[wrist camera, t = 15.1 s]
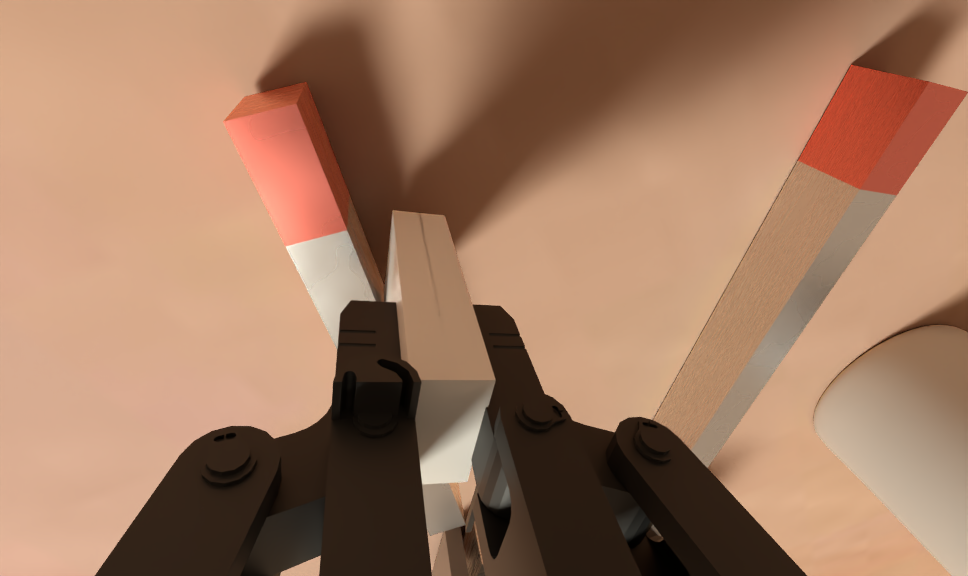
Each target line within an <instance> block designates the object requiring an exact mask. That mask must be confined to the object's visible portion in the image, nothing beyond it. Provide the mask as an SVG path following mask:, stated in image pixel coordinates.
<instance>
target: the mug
mask: <svg viewBox="0 0 968 576" xmlns="http://www.w3.org/2000/svg"><path fill="white" fill-rule="evenodd" d="M813 424H814V429H815V431H816V433H817V435H818V436H819V438H820V439H821V440H822V442H823V443H824V444H825V445H826V446H827V447H828V448H829V449H830V450H831V451H832V452H833V453H834V454H835V455H836V456H837V457H838V458H839V459H840V460H841V461H842V462H843V463H844V464H845V465H846V466H847V467H848V468H849V469H850V470H851V471H852V472H853V473H854V474H855V475H856V476H857V477H858V478H859V479H860V480H861V481H862V482H863V484H864V485H865V486H866V487H867V488H868V489H869V490H870V491H871V492H872V493H873V494H874V495H875V496H876V497H877V498H878V499H879V500H880V501H881V502H882V503H883V504H884V505H885V506H886V507H887V508H888V510H889V511H890V512H891V513H892V514H893V515H894V516H895V517H896V518H897V519H898V520H899V521H900V522H901V523H902V524H903V525H904V526H905V527H906V528H907V529H908V530H909V532H910V533H911V534H912V535H913V536H914V537H915V538H916V539H917V540H918V541H919V542H920V543H921V544H922V545H923V546H924V547H925V548H926V549H927V550H928V551H929V553H930V554H931V555H932V556H933V557H934V558H935V559H936V560H937V561H938V562H939V563H940V564H941V565H942V566H943V567H944V568H945V569H946V570H947V571H948V572H949V573H950V575H951V576H968V332H966V331H965V330H963V329H960V328H957V327H954V326H950V325H929V326H924V327H919V328H916V329H912V330H909V331H906V332H904V333H901V334H899V335H897V336H894V337H892V338H890V339H888V340H886V341H884V342H882V343H881V344H879V345H877V346H875V347H874V348H872V349H871V350H869V351H867V352H866V353H865V354H863V355H862V356H860V357H859V358H858V359H856V360H855V361H854V362H853V363H851V364H850V365H849V366H848V367H847V368H846V369H845V370H843V371H842V372H841V373H840V374H839V375H838V376H837V377H836V378H835V379H834V381H833V382H832V383H831V384H830V385H829V387H828V388H827V389H826V390H825V392H824V393H823V395H822V396H821V398H820V400H819V402H818V404H817V406H816V409H815V412H814V417H813Z"/></svg>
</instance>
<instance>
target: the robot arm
mask: <svg viewBox="0 0 968 576" xmlns="http://www.w3.org/2000/svg"><path fill="white" fill-rule="evenodd" d="M471 466H473V471H474V475H475V480H476V488H475V492H474V495H473V498H472V502H471V505H470V508H469V512H468V515H467V518H466V528H465V533H467V532H471V530H472V527H473V524H474V521H475V524H476V529H477V534H478V540H479V545H480V550H481V555H482V560H483V565H484V570H485V576H807V575H806V574H805V573H804V572H803V571H802V570H801V569H800V568H799V566H798V565H797V564H796V563H795V562H794V561H793V560H792V559H791V558H790V557H789V556H788V555H787V553H786V552H785V551H784V550H783V549H782V548H781V547H780V546H779V545H778V544H777V543H776V542H775V541H774V539H773V538H772V537H771V536H770V535H769V534H768V533H767V532H766V531H765V530H764V529H763V528H762V527H761V525H760V524H759V523H758V522H757V521H756V520H755V519H754V518H753V517H752V516H751V515H750V514H749V512H748V511H747V510H746V509H745V508H744V507H743V506H742V505H741V504H740V503H739V502H738V501H737V500H736V498H735V497H734V496H733V495H732V494H731V493H730V492H729V491H728V490H727V489H726V488H725V487H724V485H723V484H722V483H721V482H720V481H719V480H718V479H717V478H716V477H715V476H714V475H713V474H712V473H711V471H710V470H709V469H708V468H707V467H706V466H705V465H704V464H703V463H702V462H701V461H700V460H699V459H698V457H697V456H696V455H695V454H694V453H693V452H692V451H691V450H690V449H689V448H688V447H687V446H686V444H685V443H684V442H683V441H682V440H681V439H680V438H679V437H678V436H677V435H676V434H674V433H673V432H672V431H671V430H670V429H668V428H667V427H665V426H664V425H662V424H660V423H658V422H656V421H654V420H650V419H646V418H642V417H632V418H627V419H625V420H623V421H622V422H620V423H619V425H618V427H617V429H616V431H615V433H614V432H610V431H607V430H603V429H599V428H595V427H591V426H587V425H583V424H581V423H578V422H575V421H573V420H572V419H571V417H570V415H569V414H568V412H567V411H566V409H565V408H564V406H563V405H561V404H560V403H559V402H558V401H556V400H555V399H554V398H553V397H550V396H548V395H546V394H544V391H543V389H542V387H541V384H540V382H539V379H538V377H537V374H536V372H535V370H534V367H533V365H532V362H531V360H530V358H529V355H528V353H527V350H526V349H525V345H524V343H523V341H522V338H521V337H520V333H519V331H518V328H517V326H516V324H515V321H514V319H513V318H512V317H511V316H510V315H509V314H508V313H507V312H506V311H505V310H504V309H503V308H502V307H501V306H491V305H472V302H471V299H470V295H469V292H468V289H467V286H466V282H465V279H464V276H463V273H462V270H461V266H460V263H459V260H458V257H457V253H456V250H455V247H454V244H453V240H452V237H451V234H450V231H449V227H448V224H447V221H446V218H445V215H436V214H426V213H416V212H406V211H396V210H393V211H392V221H391V230H390V239H389V249H388V258H387V267H386V277H385V286H384V302H379V301H359V300H351V301H350V302H349V303H348V304H347V306H346V307H345V308H344V309H343V311H342V312H341V313H340V323H339V336H338V349H337V362H336V375H335V378H334V381H333V396H332V405H331V407H330V409H329V410H328V412H327V413H326V415H324V416H323V417H322V418H321V419H320V420H319V421H318V422H317V423H315V424H313V425H312V426H310V427H308V428H307V429H304V430H301V431H299V432H296V433H293V434H289V435H286V436H282V437H279V438H275V439H274V438H272V437H271V436H270V435H269V434H268V433H267V432H266V431H263V430H260V429H257V428H254V427H251V426H230V427H226V428H222V429H218V430H214V431H211V432H210V433H208V434H206V435H204V436H202V437H200V438H199V439H197V440H195V441H194V442H193V443H192V444H191V445H190V446H189V447H188V448H187V449H186V450H185V451H184V452H183V453H182V454H181V455H180V456H179V457H178V459H177V460H176V462H175V463H174V464H173V466H172V467H171V469H170V470H169V471H168V473H167V474H166V476H165V477H164V479H163V480H162V481H161V483H160V484H159V486H158V487H157V488H156V490H155V491H154V493H153V494H152V495H151V497H150V498H149V500H148V501H147V503H146V504H145V505H144V507H143V508H142V510H141V511H140V512H139V514H138V515H137V517H136V518H135V520H134V521H133V522H132V524H131V525H130V527H129V528H128V529H127V531H126V532H125V534H124V535H123V537H122V538H121V539H120V541H119V542H118V544H117V545H116V546H115V548H114V549H113V551H112V552H111V554H110V555H109V556H108V558H107V559H106V561H105V562H104V563H103V565H102V566H101V568H100V569H99V571H98V572H97V573H96V575H95V576H280V573H281V572H282V571H284V570H287V569H289V568H291V567H294V566H296V565H299V564H301V563H303V562H306V561H308V560H310V559H313V558H315V557H318V556H320V555H321V561H320V574H319V576H432V572H431V563H430V554H429V544H428V535H427V525H426V516H425V507H424V497H423V488H422V484H438V483H457V482H467V481H468V477H469V474H470V470H471ZM652 525H654V526H655V528H656V529H657V530H658V532H659V533H660V534H661V536H662V537H663V538H662V537H660V536H659V535H657V534H656V533H655V532H654V531H653V530H652V528H651V526H652Z"/></svg>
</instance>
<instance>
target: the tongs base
mask: <svg viewBox="0 0 968 576" xmlns="http://www.w3.org/2000/svg"><path fill="white" fill-rule="evenodd" d="M967 93H968V92H966V91H962V90H959V89H955V88H951V87H947V86H943V85H940V84H936V83H932V82H928V81H923V80H919V79H914V78H910V77H905V76H900V75H896V74H891V73H887V72H882V71H877V70H873V69H868V68H864V67H859V66H854V65H851V66H850V68H849V70H848V72H847V73H846V75H845V77H844V79H843V81H842V82H841V84H840V86H839V88H838V90H837V91H836V93H835V95H834V97H833V99H832V100H831V102H830V104H829V106H828V107H827V109H826V111H825V113H824V115H823V116H822V118H821V120H820V122H819V124H818V125H817V127H816V129H815V131H814V133H813V134H812V136H811V138H810V140H809V142H808V143H807V145H806V147H805V149H804V150H803V152H802V154H801V156H800V158H799V159H798V161H797V163H796V165H795V167H794V168H793V170H792V172H791V174H790V176H789V177H788V179H787V181H786V183H785V184H784V186H783V188H782V190H781V192H780V193H779V195H778V197H777V199H776V201H775V202H774V204H773V206H772V208H771V210H770V211H769V213H768V215H767V217H766V219H765V220H764V222H763V224H762V226H761V227H760V229H759V231H758V233H757V235H756V236H755V238H754V240H753V242H752V244H751V245H750V247H749V249H748V251H747V253H746V254H745V256H744V258H743V260H742V262H741V263H740V265H739V267H738V269H737V270H736V272H735V274H734V276H733V278H732V279H731V281H730V283H729V285H728V287H727V288H726V290H725V292H724V294H723V296H722V297H721V299H720V301H719V303H718V305H717V306H716V308H715V310H714V312H713V313H712V315H711V317H710V319H709V321H708V322H707V324H706V326H705V328H704V330H703V331H702V333H701V335H700V337H699V339H698V340H697V342H696V344H695V346H694V348H693V349H692V351H691V353H690V355H689V356H688V358H687V360H686V362H685V364H684V365H683V367H682V369H681V371H680V373H679V374H678V376H677V378H676V380H675V382H674V383H673V385H672V387H671V389H670V391H669V392H668V394H667V396H666V398H665V399H664V401H663V403H662V405H661V407H660V408H659V410H658V412H657V414H656V416H655V417H654V419H653V420H654V421H656V422H658V423H660V424H662V425H664V426H665V427H667V428H668V429H670V430H671V431H672V432H673V433H674V434H676V435H677V436H678V437H679V438H680V439H681V440H682V441H683V442H684V443H685V444H686V446H687V447H688V448H689V449H690V450H691V451H692V452H693V453H694V454H695V455H696V456H697V457H698V459H699V460H700V461H701V462H702V463H703V464H704V465H705V466H706V467H707V468H708V467H709V465H710V464H711V462H712V461H713V460H714V458H715V457H716V455H717V454H718V452H719V451H720V449H721V448H722V447H723V445H724V444H725V442H726V441H727V439H728V438H729V436H730V435H731V434H732V432H733V431H734V429H735V428H736V426H737V425H738V423H739V422H740V421H741V419H742V418H743V416H744V415H745V413H746V412H747V410H748V409H749V408H750V406H751V405H752V403H753V402H754V400H755V399H756V397H757V396H758V395H759V393H760V392H761V390H762V389H763V387H764V386H765V385H766V383H767V382H768V380H769V379H770V377H771V376H772V374H773V373H774V372H775V370H776V369H777V367H778V366H779V364H780V363H781V361H782V360H783V359H784V357H785V356H786V354H787V353H788V351H789V350H790V348H791V347H792V346H793V344H794V343H795V341H796V340H797V338H798V337H799V335H800V334H801V333H802V331H803V330H804V328H805V327H806V325H807V324H808V322H809V321H810V320H811V318H812V317H813V315H814V314H815V312H816V311H817V309H818V308H819V307H820V305H821V304H822V302H823V301H824V299H825V298H826V296H827V295H828V294H829V292H830V291H831V289H832V288H833V286H834V285H835V283H836V282H837V281H838V279H839V278H840V276H841V275H842V273H843V272H844V271H845V269H846V268H847V266H848V265H849V263H850V262H851V260H852V259H853V258H854V256H855V255H856V253H857V252H858V250H859V249H860V247H861V246H862V245H863V243H864V242H865V240H866V239H867V237H868V236H869V234H870V233H871V232H872V230H873V229H874V227H875V226H876V224H877V223H878V221H879V220H880V219H881V217H882V216H883V214H884V213H885V211H886V210H887V208H888V207H889V206H890V204H891V203H892V201H893V200H894V198H895V197H896V195H897V194H898V193H899V191H900V190H901V188H902V187H903V185H904V184H905V182H906V181H907V180H908V178H909V177H910V175H911V174H912V172H913V171H914V170H915V168H916V167H917V165H918V164H919V162H920V161H921V159H922V158H923V157H924V155H925V154H926V152H927V151H928V149H929V148H930V146H931V145H932V144H933V142H934V141H935V139H936V138H937V136H938V135H939V133H940V132H941V131H942V129H943V128H944V126H945V125H946V123H947V122H948V120H949V119H950V118H951V116H952V115H953V113H954V112H955V110H956V109H957V107H958V106H959V105H960V103H961V102H962V100H963V99H964V97H965V96H966V94H967ZM651 528H652V530H653V531H654V532H655V533H656V534H657V535H659V536H661V534H660V533H659V532H658V530H657V529H656V528H655V526H654V525H652V526H651ZM463 545H464V551H465V557H466V563H467V569H468V574H469V576H485V570H484V565H483V560H482V555H481V550H480V545H479V540H478V534H477V529H476V524H475V521H474V524H473V527H472V530H471V532H467V533H465V535H464V538H463Z"/></svg>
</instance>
